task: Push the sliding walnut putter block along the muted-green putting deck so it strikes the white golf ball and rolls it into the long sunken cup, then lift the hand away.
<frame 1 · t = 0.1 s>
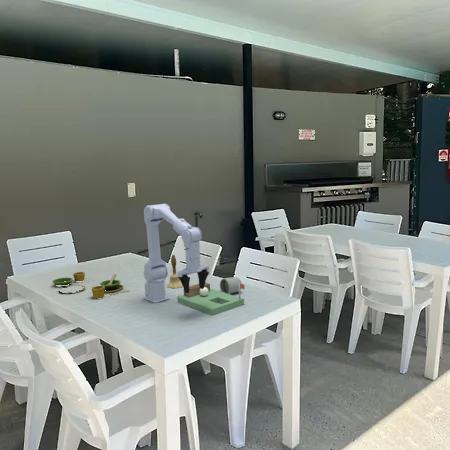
hand: (194, 290, 179), 10 cm above the table, fingers open, 7 cm apart
putting deck: (210, 303, 194), on the table
ceramic mug: (229, 293, 208), on the table
putter block: (197, 289, 200), point 4 cm above the table, slide at 0.0 cm
tableware set: (89, 290, 222), on the table
golf ball: (204, 291, 196), point 4 cm above the table, touching putting deck
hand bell: (175, 286, 221), on the table
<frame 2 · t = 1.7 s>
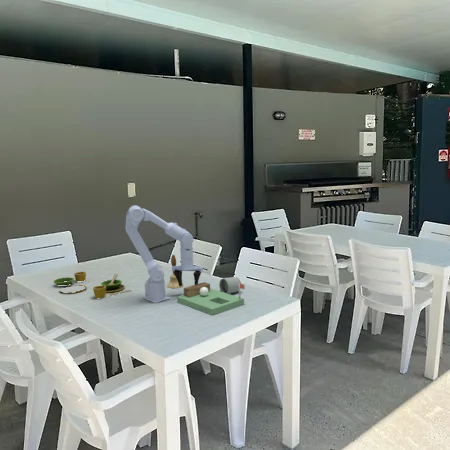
hand: (188, 286, 204), 5 cm above the table, fingers open, 7 cm apart
putter block: (197, 289, 200), point 4 cm above the table, slide at 0.0 cm, touching gripper
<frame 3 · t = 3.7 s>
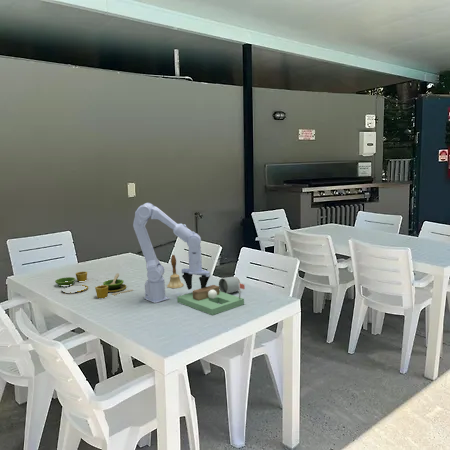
hand: (196, 290, 200), 4 cm above the table, fingers open, 7 cm apart
putter block: (206, 292, 195), point 4 cm above the table, slide at 6.5 cm, touching gripper
golf ball: (212, 294, 192), point 4 cm above the table, tilted 163°, touching putting deck
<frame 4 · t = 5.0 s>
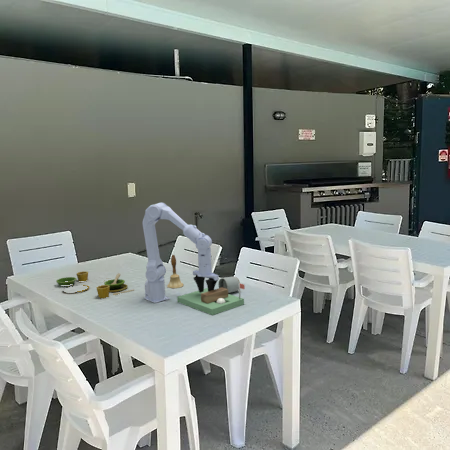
hand: (206, 293, 195), 4 cm above the table, fingers open, 6 cm apart
putter block: (214, 295, 191), point 4 cm above the table, slide at 12.3 cm, touching golf ball, gripper
golf ball: (220, 302, 188), point 2 cm above the table, tilted 17°, touching putter block
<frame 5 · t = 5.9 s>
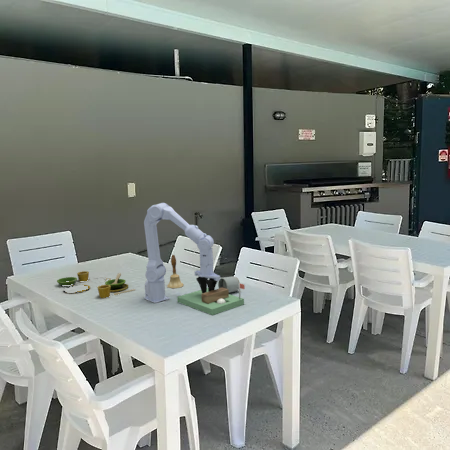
hand: (207, 293, 194), 4 cm above the table, fingers open, 4 cm apart
golf ball: (221, 303, 188), point 2 cm above the table, tilted 11°, touching putter block
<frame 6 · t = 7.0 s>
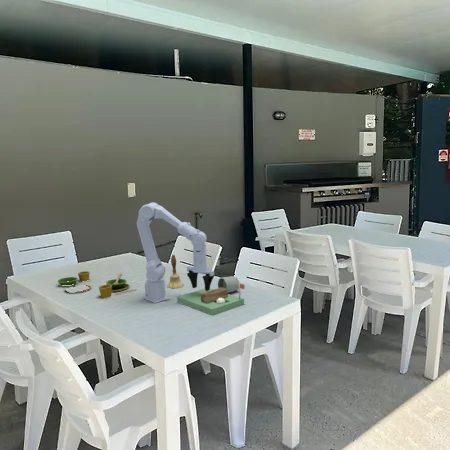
hand: (201, 289, 197), 5 cm above the table, fingers open, 7 cm apart
putter block: (214, 295, 191), point 4 cm above the table, slide at 12.1 cm, touching golf ball
golf ball: (220, 302, 188), point 2 cm above the table, tilted 21°, touching putter block
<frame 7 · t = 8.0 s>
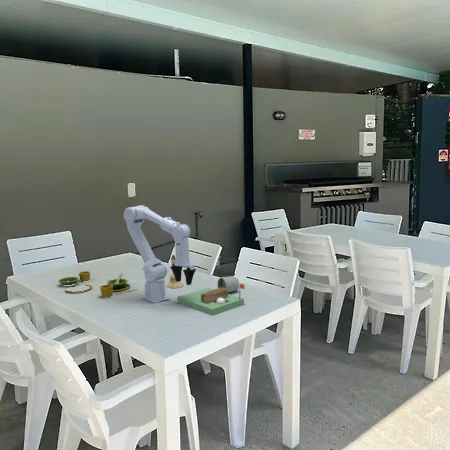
hand: (183, 282, 193), 9 cm above the table, fingers open, 7 cm apart
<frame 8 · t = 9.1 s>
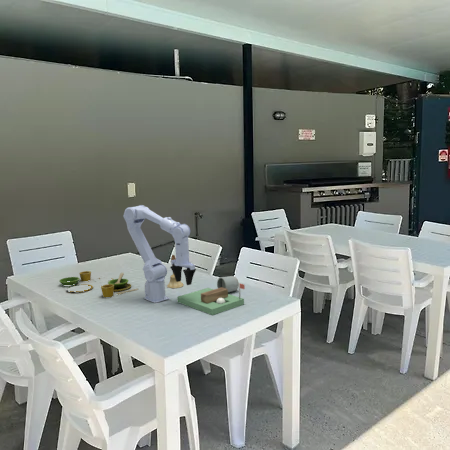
hand: (183, 282, 193), 9 cm above the table, fingers open, 7 cm apart
at the end: golf ball 1.0 cm from the target spot on the putting deck, point 2.0 cm above the putting deck's base; the gripper is holding nothing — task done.
